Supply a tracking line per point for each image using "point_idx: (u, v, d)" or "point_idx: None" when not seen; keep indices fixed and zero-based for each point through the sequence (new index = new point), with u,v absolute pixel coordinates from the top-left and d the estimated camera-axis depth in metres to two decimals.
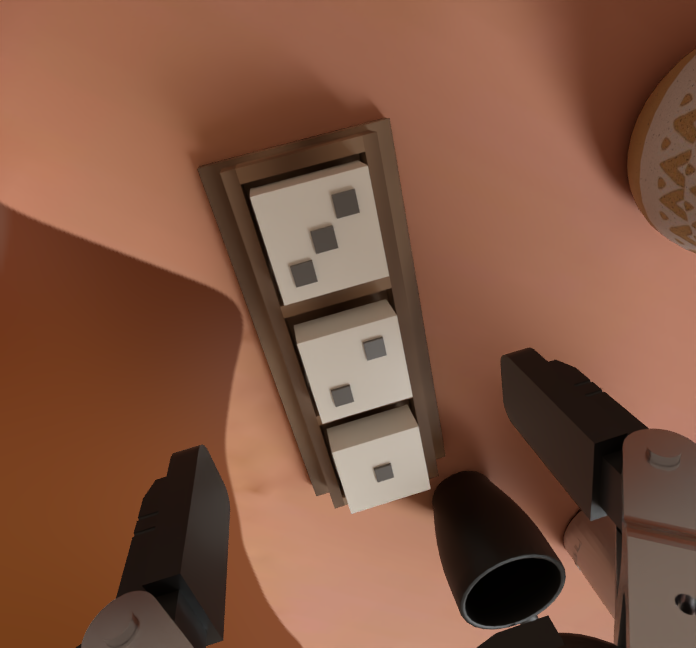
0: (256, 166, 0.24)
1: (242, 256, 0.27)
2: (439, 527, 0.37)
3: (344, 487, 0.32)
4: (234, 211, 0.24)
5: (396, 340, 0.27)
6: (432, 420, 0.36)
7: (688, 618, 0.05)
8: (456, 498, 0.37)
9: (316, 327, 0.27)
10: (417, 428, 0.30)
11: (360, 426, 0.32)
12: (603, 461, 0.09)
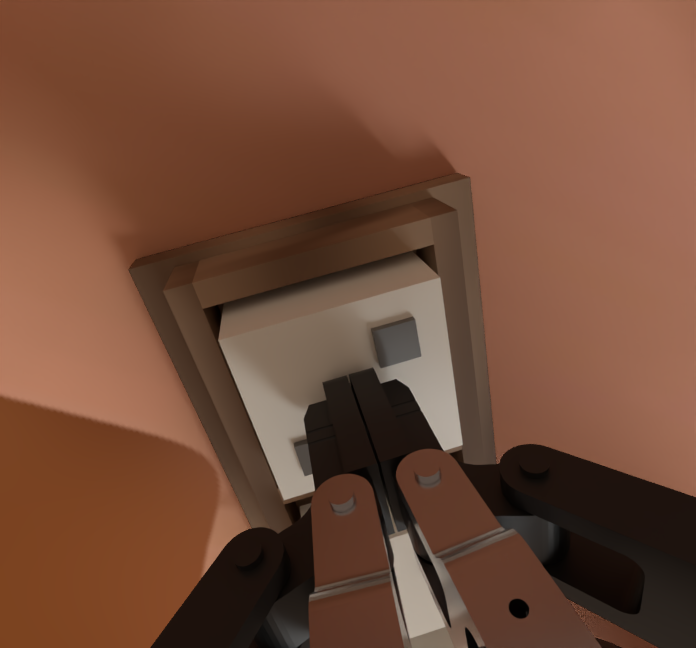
0: (232, 277, 0.13)
1: None
2: None
3: None
4: (193, 353, 0.13)
5: None
6: None
7: (525, 621, 0.06)
8: None
9: None
10: None
11: None
12: (394, 478, 0.10)
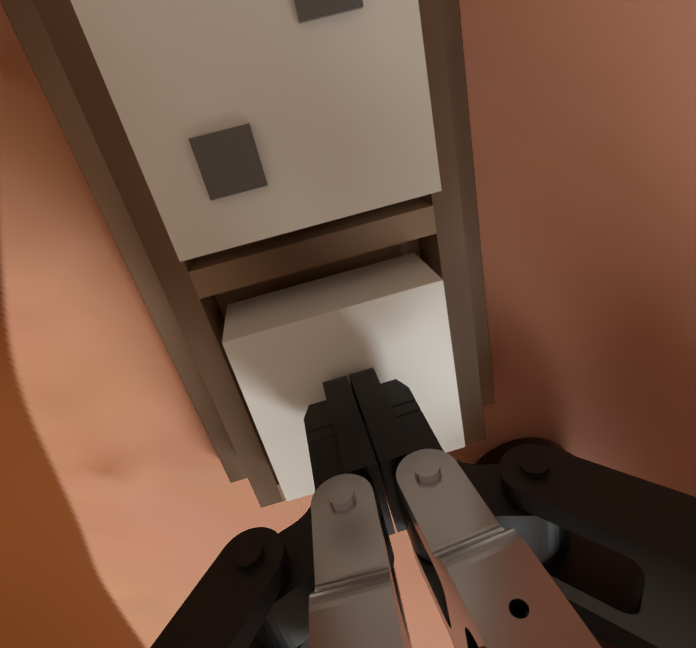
0: None
1: None
2: None
3: (264, 437, 0.13)
4: None
5: None
6: (472, 320, 0.17)
7: (525, 620, 0.06)
8: None
9: None
10: (440, 285, 0.12)
11: (303, 293, 0.13)
12: (394, 478, 0.10)
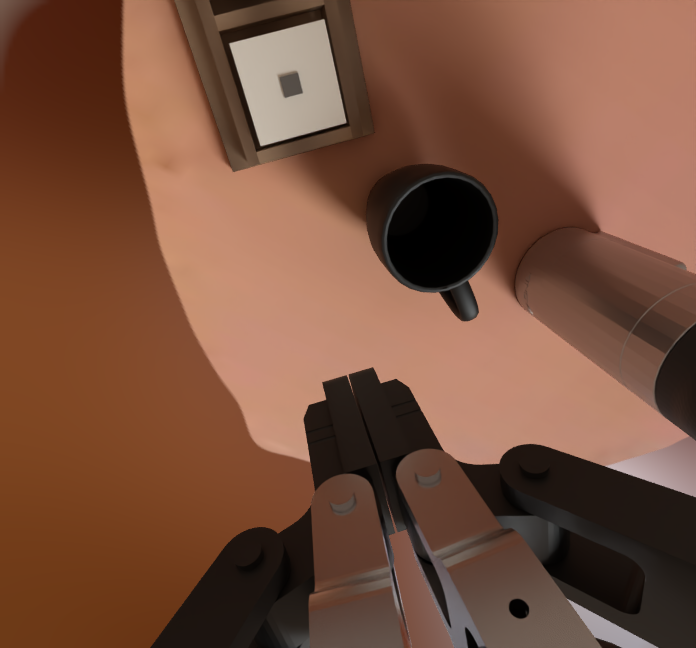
0: None
1: None
2: (368, 205, 0.34)
3: (248, 102, 0.29)
4: None
5: None
6: (356, 75, 0.33)
7: (524, 621, 0.06)
8: (386, 175, 0.34)
9: None
10: (323, 22, 0.28)
11: None
12: (395, 478, 0.10)
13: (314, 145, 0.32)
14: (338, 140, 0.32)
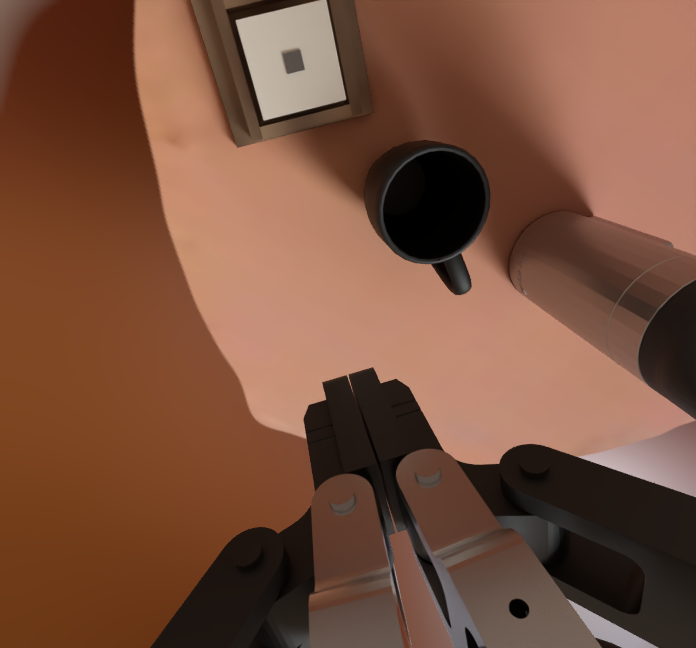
0: None
1: None
2: (366, 182, 0.35)
3: (253, 77, 0.31)
4: None
5: None
6: (356, 55, 0.34)
7: (525, 622, 0.06)
8: None
9: None
10: (325, 1, 0.30)
11: None
12: (395, 478, 0.10)
13: (315, 122, 0.34)
14: (338, 117, 0.34)
